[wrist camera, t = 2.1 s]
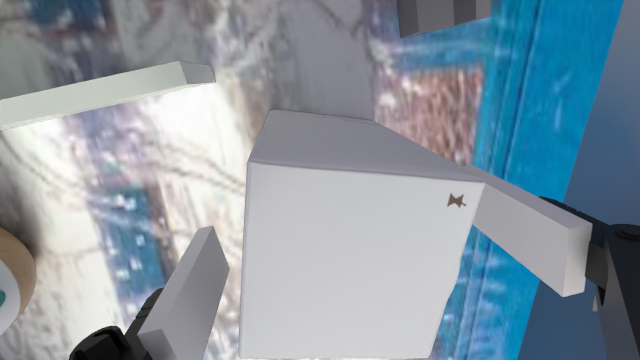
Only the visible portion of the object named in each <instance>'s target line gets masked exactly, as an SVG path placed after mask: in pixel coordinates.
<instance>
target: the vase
mask: <svg viewBox="0 0 640 360" xmlns="http://www.w3.org/2000/svg"><path fill="white" fill-rule="evenodd" d="M35 284H36V268H35V263H34V260H33V258H32V256H31V254H30V252H29V251H28V249H27V248H26V247H25V245H24V244H23V243H22V242H21V241H20V240H19V239H18V238H16V237H15V236H14V235H12V234H11V233H9V232H8V231H6V230H4V229H3V228H0V336H1V335H2V334H3V333H4V332H5V331H6V330H7V329H8V328H9V327H10V326H11V325H12V323H13V322H14V321H15V320H16V319H17V318H18V317H19V315H20V314H21V313H22V312H23V310H24V309H25V307H26V306H27V304H28V302H29V301H30V299H31V296H32V294H33V291H34V288H35Z"/></svg>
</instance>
